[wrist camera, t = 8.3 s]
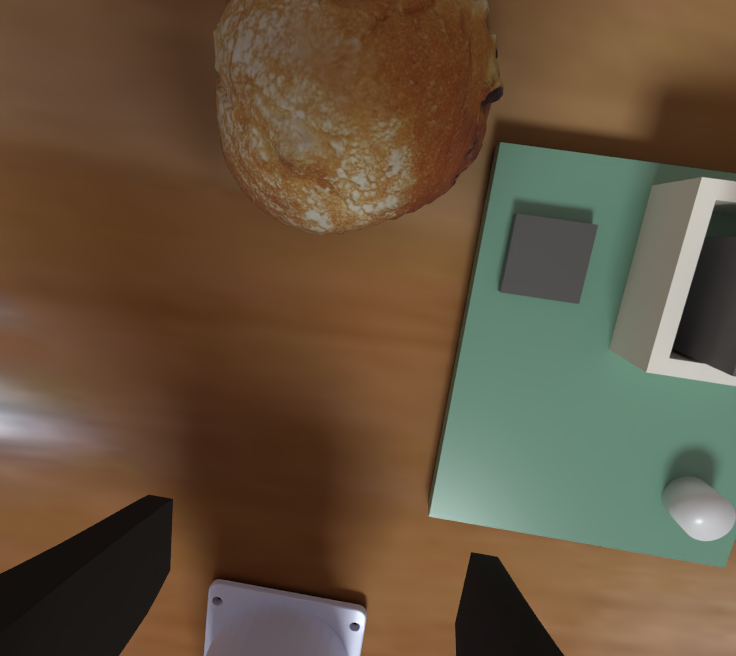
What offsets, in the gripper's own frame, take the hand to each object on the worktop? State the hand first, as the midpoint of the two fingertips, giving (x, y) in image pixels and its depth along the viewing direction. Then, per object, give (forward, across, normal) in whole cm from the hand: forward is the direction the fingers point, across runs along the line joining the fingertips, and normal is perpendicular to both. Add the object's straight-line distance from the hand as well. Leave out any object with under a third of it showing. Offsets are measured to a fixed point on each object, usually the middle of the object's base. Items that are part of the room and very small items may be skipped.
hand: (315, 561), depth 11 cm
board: (+10, -10, -3) cm, 15 cm away
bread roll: (+11, +2, -12) cm, 17 cm away
